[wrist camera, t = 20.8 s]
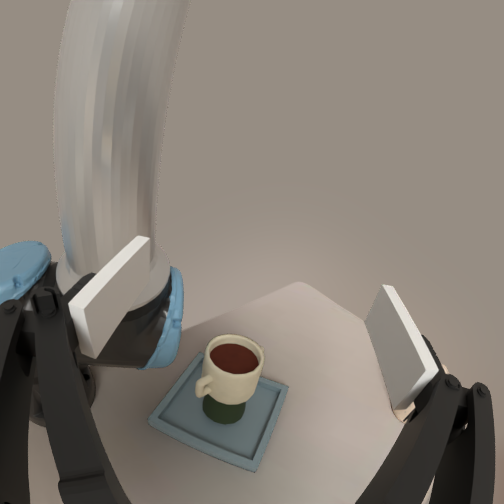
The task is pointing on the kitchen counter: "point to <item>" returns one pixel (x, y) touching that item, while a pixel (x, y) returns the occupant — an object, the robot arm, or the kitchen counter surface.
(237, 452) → the tray
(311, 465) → the kitchen counter surface
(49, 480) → the kitchen counter surface
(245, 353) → the character mug
